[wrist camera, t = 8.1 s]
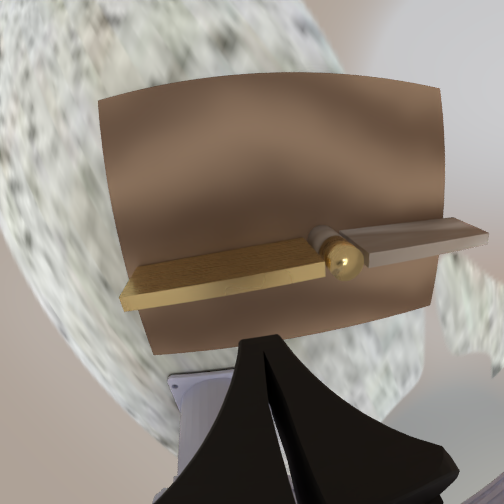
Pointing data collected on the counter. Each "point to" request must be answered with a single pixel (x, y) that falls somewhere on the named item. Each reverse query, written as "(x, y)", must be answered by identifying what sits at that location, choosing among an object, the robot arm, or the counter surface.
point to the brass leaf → (239, 272)
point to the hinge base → (282, 195)
